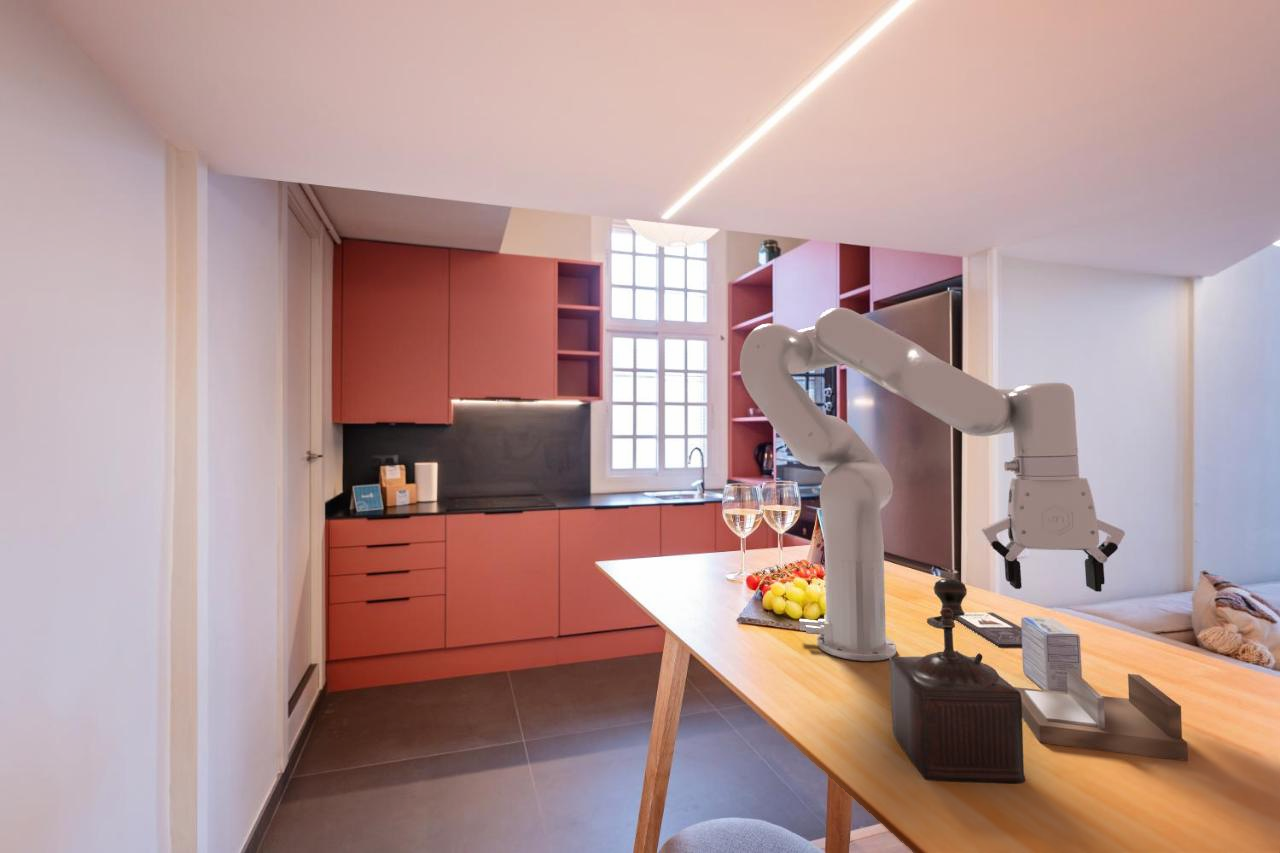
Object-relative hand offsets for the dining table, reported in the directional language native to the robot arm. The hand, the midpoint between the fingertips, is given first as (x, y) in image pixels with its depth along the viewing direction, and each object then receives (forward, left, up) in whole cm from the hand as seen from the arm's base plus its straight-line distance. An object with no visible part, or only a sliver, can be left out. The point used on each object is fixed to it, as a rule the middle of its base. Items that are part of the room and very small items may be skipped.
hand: (1054, 588), depth 83 cm
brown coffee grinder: (-18, -22, -14) cm, 32 cm away
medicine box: (-1, 0, -14) cm, 14 cm away
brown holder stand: (-1, -13, -14) cm, 19 cm away
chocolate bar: (-2, +25, -15) cm, 29 cm away
